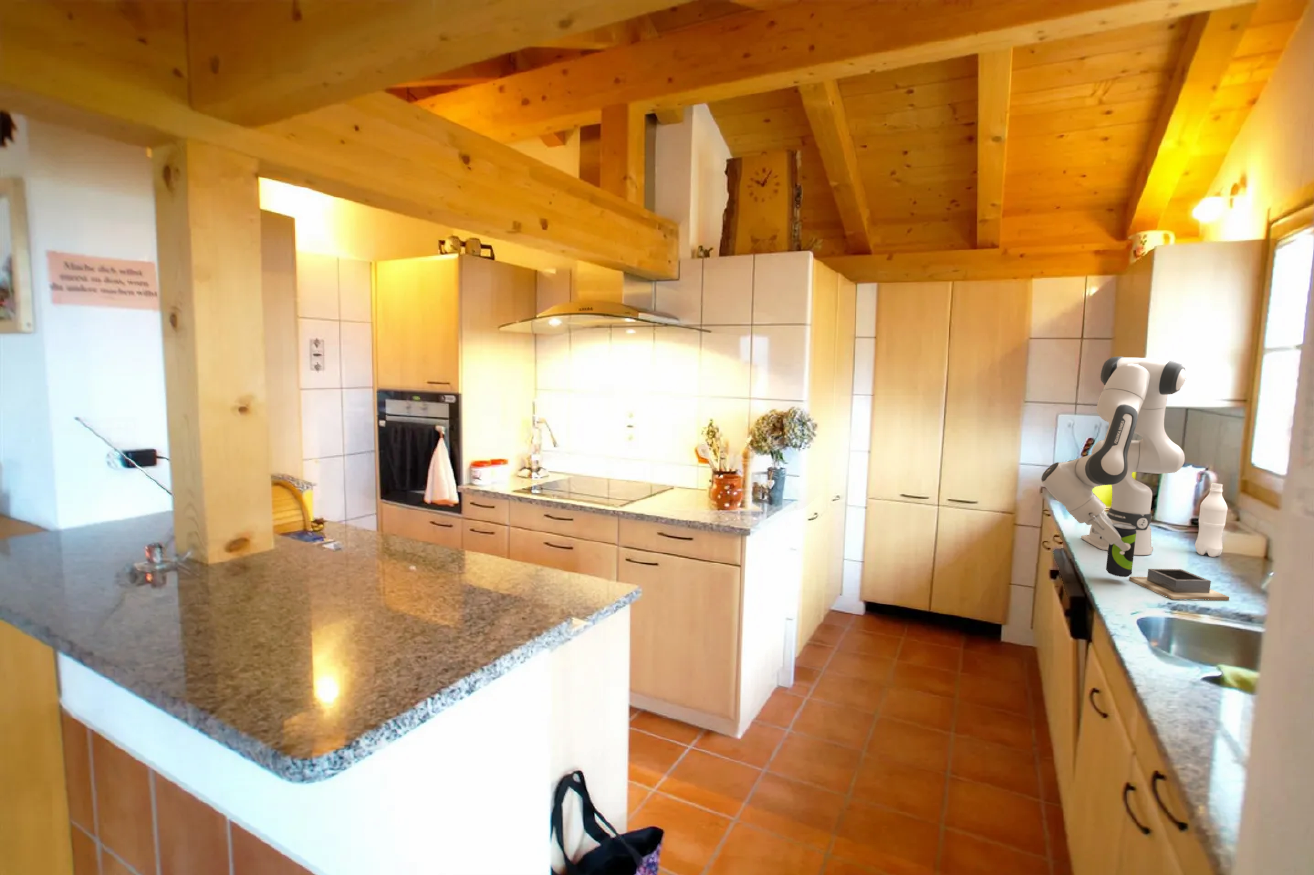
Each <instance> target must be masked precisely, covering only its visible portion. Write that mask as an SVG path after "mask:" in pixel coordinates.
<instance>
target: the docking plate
mask: <svg viewBox="0 0 1314 875" xmlns="http://www.w3.org/2000/svg"><path fill="white" fill-rule="evenodd" d="M1128 580H1129V581H1131V582H1133V583H1135V584H1137V585H1139V584H1140V585H1139V586H1142V587H1144V588H1146V589H1148V590H1150V591H1153V592H1155V593H1157V594H1159V595H1161V596H1163V595H1164V596H1163V597H1165V596H1167V597H1166V598H1168V597H1169V598H1168V599H1170V598H1171V599H1170V600H1172V599H1204V600H1203V601H1230V596H1229V595H1228V596H1227V595H1225V594H1223V593H1221V592H1219V591H1216V590H1214V589H1211V588H1210V592H1209V593H1175V592H1172V591H1170V590H1168V589H1166V588H1163V587H1161V586H1159V585H1157V584H1154V583H1152V582H1150V581H1148V580H1147V576H1128ZM1205 599H1206V600H1205ZM1208 599H1209V600H1208Z"/></svg>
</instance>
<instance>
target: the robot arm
mask: <svg viewBox="0 0 1314 875" xmlns="http://www.w3.org/2000/svg"><path fill="white" fill-rule="evenodd" d="M1186 379H1187V378H1186V368H1185V367H1184V366H1183V365H1182V363H1179V362H1176V361H1174V360H1173V361H1172V360H1169V361H1167V360H1163V359H1159V358H1158V359H1157V358H1150V357H1124V356H1113V357H1112V356H1111V357H1110V358H1108V359H1107V360H1105V361H1104V363H1103V365H1102V367H1101V369H1100V381H1101V383H1102V384H1103V385H1104V386H1103V389H1102V391H1101V392H1100V395H1099V398H1098V401H1097V404H1096V412H1097V415H1098V416H1099V418H1101V419H1102V420H1103V421H1105V422H1107V423H1108V428H1107V430H1106V433H1105V438H1104V439H1102V440H1098V441H1097V442H1096V443H1095V444H1094V446H1093V448H1092V450H1091V454H1089V455H1085V456H1081V457H1079V458H1076V459H1072V460H1069V461H1062V462H1054V463H1053V464H1051V465H1050V466H1049V467H1047V468H1046V469H1045V470H1044V472H1043V473H1042V475H1041V478H1040V479H1041V482H1042V484H1043V486H1044V488H1046V490H1047V491H1048V492H1049V494H1051V496H1052V497H1053V498H1054V499H1055V500H1056V501H1058V502H1059V503H1061V504H1062V505H1063V506H1064V508H1065V509H1066V511H1067V512H1068V513H1069V514H1070V515H1071V516H1072V518H1074V520H1076V522H1078V523H1079V524H1086V525H1087V526H1090V527H1089V528H1090V530H1089V534H1083V535H1081V537H1080V538H1081V540H1084V541H1085V542H1086V543H1089V544H1091V545H1092V546H1094V547H1095V548H1098V549H1100V550H1103V551H1108V547H1109V544H1110V545H1112V544H1115V545H1116V546H1118V547H1119V548H1120V549H1121V550H1122V551H1126V550H1128V549H1129V548H1128V546H1127V545H1126V544H1125V543H1124V542H1123V541H1122V540H1121V536H1120V535H1119V533H1118V531H1117V530H1116V529H1115V528H1114V527H1113V525H1112V524H1113V523H1123V524H1129V525H1133V526H1135V527H1136V528H1135V530H1136V539H1135V548H1134V555H1135V556H1148V555H1152V553H1153V551H1154V546H1152V528H1151V526H1150V524H1151V523H1152V518H1153V516H1152V515H1153V514H1152V512H1151V508H1152V501H1153V491H1152V489H1151V487H1149V486H1148V485H1146V484H1145V483H1142V482H1141V481H1139V480H1137V479H1136V478H1134V477H1133V473H1136V472H1137V473H1147V474H1156V475H1157V474H1159V475H1161V474H1175V473H1177V472H1179V470H1181V469H1182V467H1183V466H1184V463H1185V461H1186V458H1185V457H1186V456H1185V452H1184V450H1183V449H1182V448H1181V447H1180V445H1178V444H1176V443H1175V442H1173V441H1172V440H1171V439H1170V437H1169V436H1168V434H1167V432H1166V429H1165V415H1166V407H1167V402H1168V395H1173V394H1176V393H1177V392H1179V391H1180V390H1181V388H1182V387H1183V385H1184V384H1185V381H1186ZM1134 434H1135V435H1138V436H1139V437H1141V439H1139V440H1137V439H1133V436H1134ZM1101 486H1111V494H1112V496H1111V504H1110V505H1111V507H1109V508H1107V505H1106V504H1105V503H1104V502H1103V501H1102V500H1101V499H1100V498H1099V497H1098V496H1097V495H1096V494H1095V493H1094V492H1093V489H1095V487H1101Z"/></svg>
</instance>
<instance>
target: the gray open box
mask: <svg viewBox="0 0 1314 875" xmlns="http://www.w3.org/2000/svg"><path fill="white" fill-rule="evenodd" d="M1146 577H1147V580H1148V581H1150V582H1152V583H1154V584H1157V585H1159V586H1161V587H1163V588H1166V589H1168V590H1170V591H1172V592H1175V593H1209V592H1210V589H1211V583H1212V581H1211V580H1209V579H1207V578H1204V577H1201V576H1200V575H1196V574H1194V573H1192V572H1189V571H1186V570H1184V569H1181V568H1147V575H1146Z"/></svg>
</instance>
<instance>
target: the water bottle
mask: <svg viewBox="0 0 1314 875" xmlns="http://www.w3.org/2000/svg"><path fill="white" fill-rule="evenodd" d="M1223 485H1224V484H1222V483H1215V482H1213V483H1210V487H1209V490H1208V491H1209V492H1208V494H1207V495H1206V497H1205V498H1204V499H1203V500H1202V501H1201V502H1200V506H1199V515H1198V534H1197V537H1196V541H1195V543H1194V547H1195V550H1196V552H1197V554H1199V555H1201V556H1204V555H1206V554H1207V555H1208V557H1210V558H1215V557H1219V556H1220V555H1221V554H1222V551H1223V548H1224V547H1223V533H1224V529H1225V526H1226V522H1227V516H1228V515H1227V514H1228V508H1229V507H1228V505H1227V503H1226V501H1225V499H1224V496H1223V492H1224V489H1223Z"/></svg>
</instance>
